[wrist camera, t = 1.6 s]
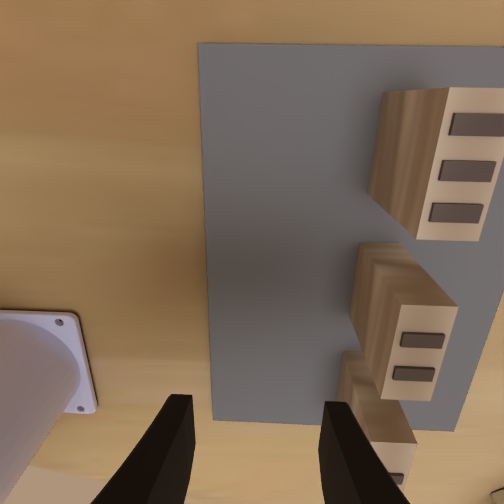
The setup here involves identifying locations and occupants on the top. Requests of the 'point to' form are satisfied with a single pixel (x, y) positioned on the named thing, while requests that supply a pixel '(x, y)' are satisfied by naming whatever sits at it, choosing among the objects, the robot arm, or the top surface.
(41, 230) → the top surface
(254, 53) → the mat
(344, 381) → the tile one
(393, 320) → the tile two
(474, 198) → the tile three
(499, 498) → the skincare box
